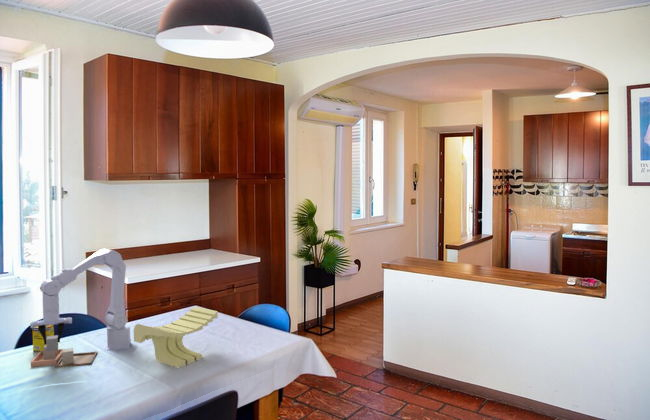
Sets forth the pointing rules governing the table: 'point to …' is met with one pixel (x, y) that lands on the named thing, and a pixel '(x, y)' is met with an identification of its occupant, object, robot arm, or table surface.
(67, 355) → the white block
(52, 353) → the block
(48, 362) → the terracotta bin
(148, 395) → the table surface
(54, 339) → the block
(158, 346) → the slatted curved stool
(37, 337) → the supplement box
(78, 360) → the walnut tray
